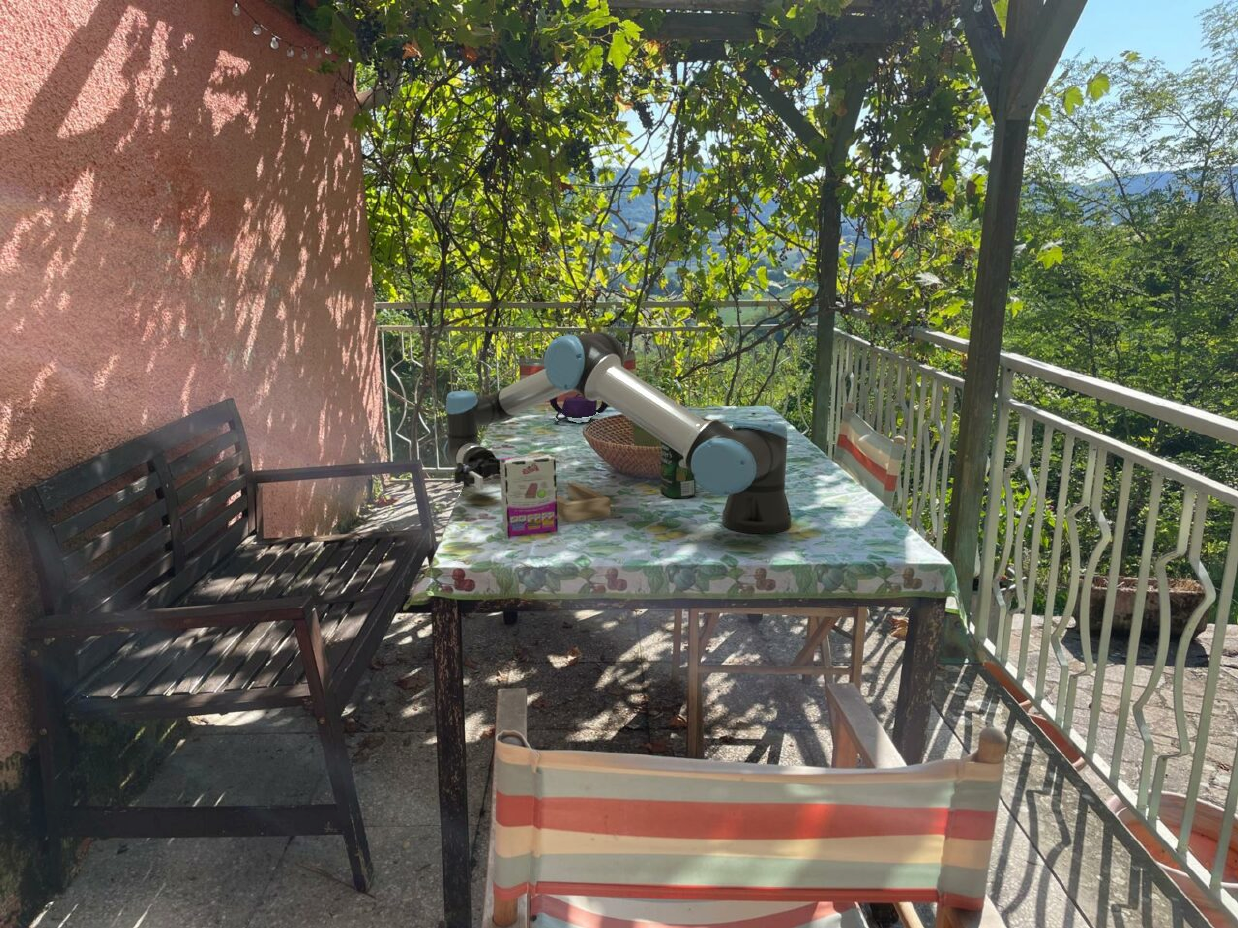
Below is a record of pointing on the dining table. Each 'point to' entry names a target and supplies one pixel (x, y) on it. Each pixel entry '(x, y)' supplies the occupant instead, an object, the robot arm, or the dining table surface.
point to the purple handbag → (577, 407)
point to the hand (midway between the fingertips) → (510, 480)
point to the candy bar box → (529, 495)
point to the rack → (582, 504)
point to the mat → (612, 514)
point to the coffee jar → (675, 474)
